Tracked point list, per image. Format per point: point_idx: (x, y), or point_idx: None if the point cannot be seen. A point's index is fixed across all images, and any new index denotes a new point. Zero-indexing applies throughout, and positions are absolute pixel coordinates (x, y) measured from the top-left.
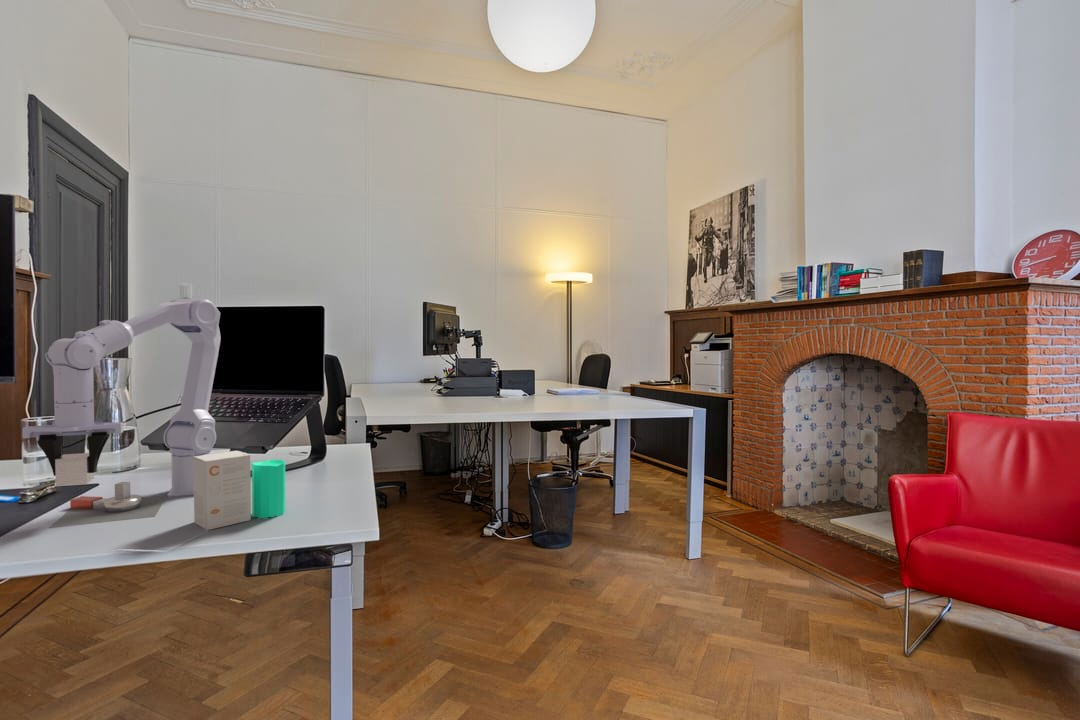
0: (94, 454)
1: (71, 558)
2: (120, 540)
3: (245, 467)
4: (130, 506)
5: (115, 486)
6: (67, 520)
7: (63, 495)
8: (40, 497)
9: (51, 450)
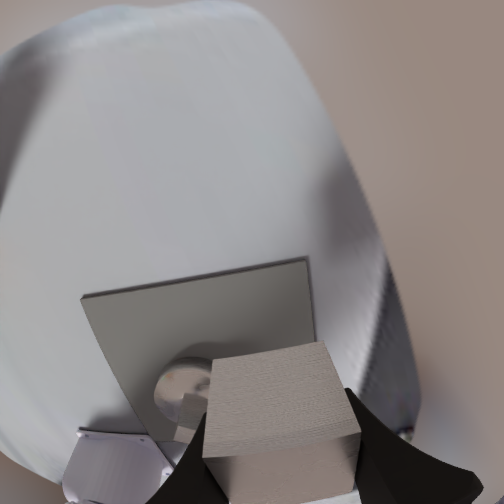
0: (178, 477)
1: (136, 17)
2: (76, 124)
3: None
4: (163, 371)
5: None
6: (286, 317)
7: None
8: None
9: (397, 473)
